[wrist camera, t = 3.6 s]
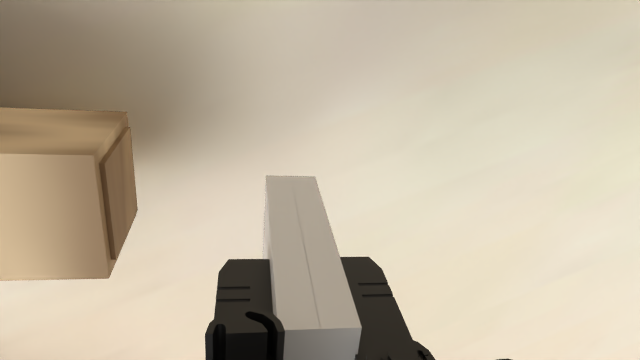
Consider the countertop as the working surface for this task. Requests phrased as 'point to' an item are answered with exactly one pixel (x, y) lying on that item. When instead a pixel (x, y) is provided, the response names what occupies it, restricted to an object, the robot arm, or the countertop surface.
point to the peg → (64, 193)
